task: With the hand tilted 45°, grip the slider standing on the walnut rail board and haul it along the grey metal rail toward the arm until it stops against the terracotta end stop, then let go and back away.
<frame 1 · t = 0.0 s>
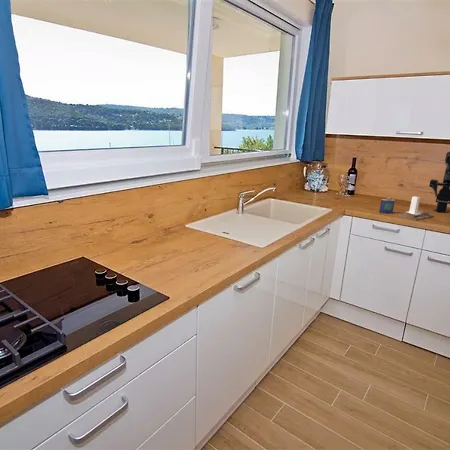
hand: (444, 198, 199), 15 cm above the worktop, tool tilted 35°, fingers open, 9 cm apart
slider: (414, 205, 210), point 8 cm above the worktop, slide at 4.0 cm
flask: (385, 213, 220), on the worktop
rail board: (415, 216, 215), on the worktop
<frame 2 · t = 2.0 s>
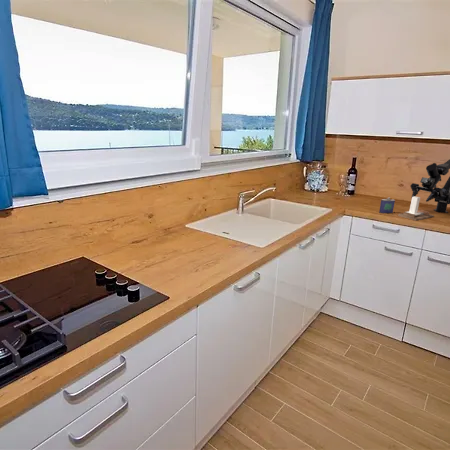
hand: (418, 199, 211), 11 cm above the worktop, tool tilted 45°, fingers open, 9 cm apart
nothing on the worktop moved.
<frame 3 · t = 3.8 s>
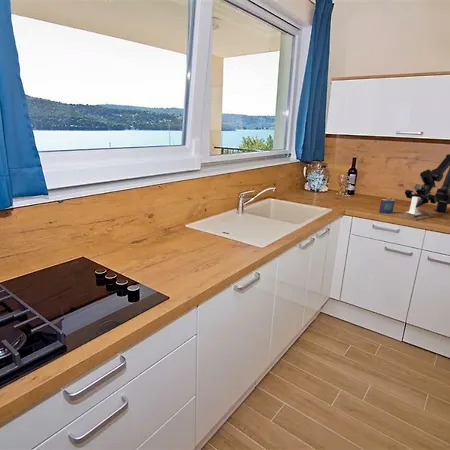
hand: (413, 206, 210), 7 cm above the worktop, tool tilted 45°, fingers closed on slider, 3 cm apart
slider: (414, 205, 210), point 8 cm above the worktop, slide at 4.0 cm, touching gripper
everything else where it was.
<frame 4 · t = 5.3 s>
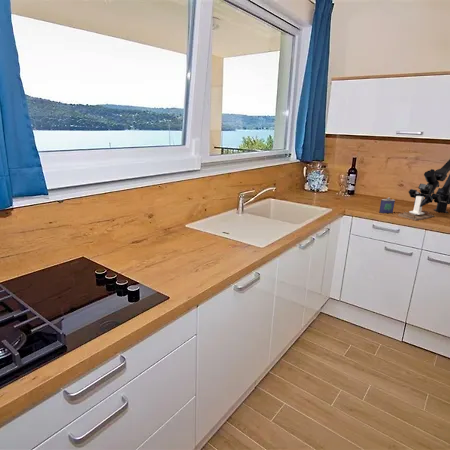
hand: (417, 205, 212), 7 cm above the worktop, tool tilted 45°, fingers closed on slider, 3 cm apart
slider: (418, 204, 212), point 8 cm above the worktop, slide at -0.4 cm, touching gripper
everything else where it was.
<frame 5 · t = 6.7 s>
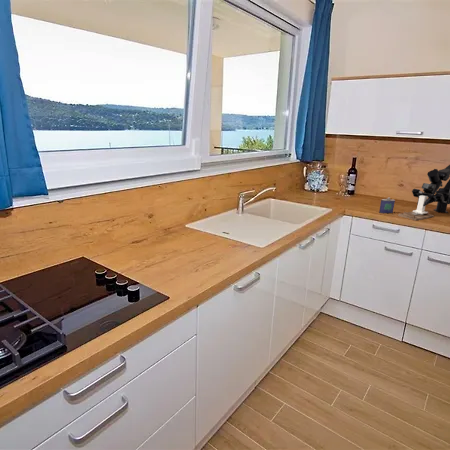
hand: (420, 205, 214), 7 cm above the worktop, tool tilted 45°, fingers closed on slider, 3 cm apart
slider: (421, 204, 214), point 8 cm above the worktop, slide at -4.1 cm, touching gripper
everything else where it was.
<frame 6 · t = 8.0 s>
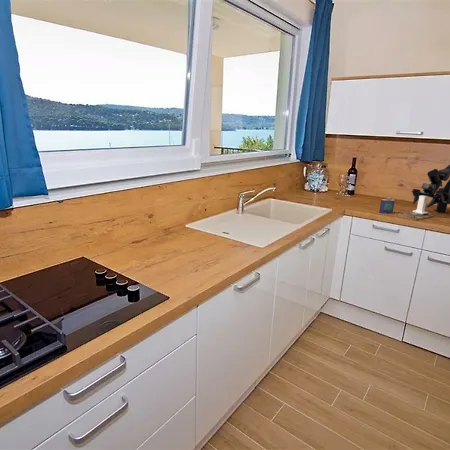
hand: (420, 205, 214), 7 cm above the worktop, tool tilted 45°, fingers open, 9 cm apart
slider: (421, 204, 214), point 8 cm above the worktop, slide at -4.0 cm
everything else where it was.
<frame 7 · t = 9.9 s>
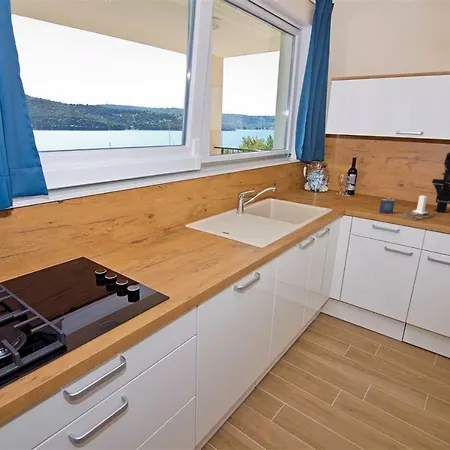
hand: (444, 196, 213), 13 cm above the worktop, tool pointing down, fingers open, 9 cm apart
nothing on the worktop moved.
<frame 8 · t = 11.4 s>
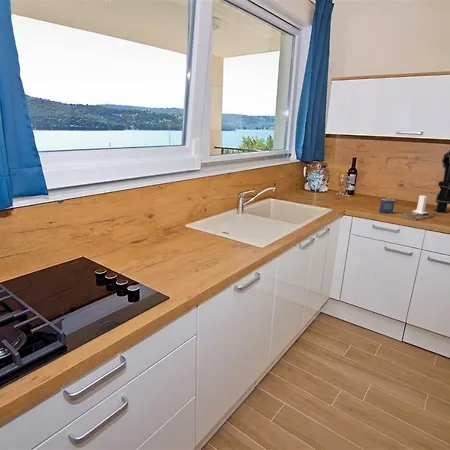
hand: (447, 196, 213), 13 cm above the worktop, tool pointing down, fingers open, 9 cm apart
nothing on the worktop moved.
at the end: slider slide at -4.0 cm; the gripper is holding nothing; flask moved 0.3 cm from its start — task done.
